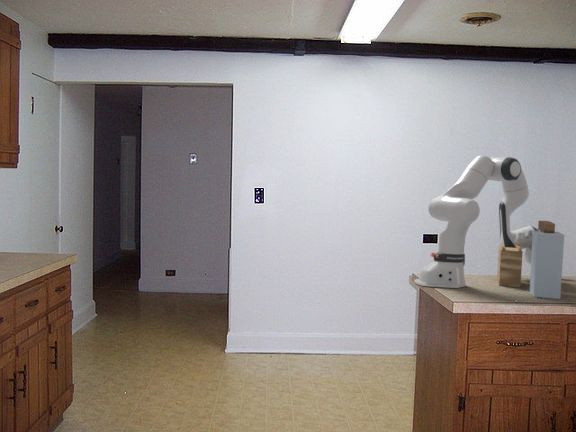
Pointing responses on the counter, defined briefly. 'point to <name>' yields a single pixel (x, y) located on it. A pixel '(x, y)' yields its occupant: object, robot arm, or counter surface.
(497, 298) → the counter surface
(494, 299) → the counter surface
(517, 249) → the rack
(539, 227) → the walnut bar
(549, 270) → the stand
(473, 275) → the counter surface
